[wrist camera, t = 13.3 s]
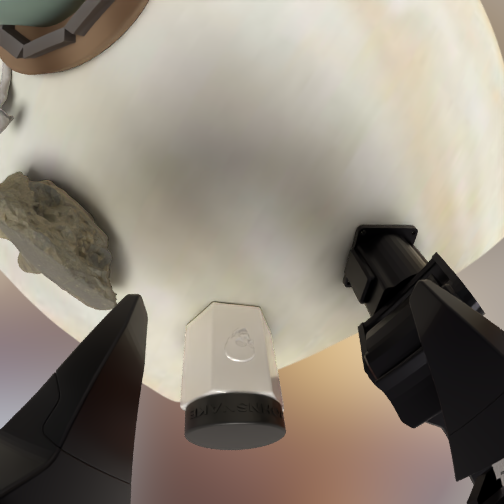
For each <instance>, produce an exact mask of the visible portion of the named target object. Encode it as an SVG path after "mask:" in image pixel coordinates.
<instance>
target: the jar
mask: <svg viewBox="0 0 504 504" xmlns="http://www.w3.org/2000/svg"><path fill="white" fill-rule="evenodd" d="M180 407H181V408H182V409H183V410H184V411H185V437H186V439H187V440H188V441H189V442H191V443H193V444H195V445H198V446H201V447H206V448H211V449H220V450H241V449H251V448H257V447H262V446H266V445H269V444H272V443H274V442H276V441H278V440H280V439H281V438H282V437H284V435H285V433H286V430H285V423H284V417H283V411H284V405H283V399H282V393H281V387H280V381H279V376H278V370H277V364H276V358H275V352H274V346H273V340H272V334H271V332H270V329H269V327H268V325H267V322H266V320H265V318H264V315H263V313H262V311H261V308H260V307H254V306H244V305H235V304H226V303H217V302H213V303H211V304H210V305H209V306H208V307H207V308H206V309H205V310H204V311H203V312H201V313H200V314H199V315H198V316H197V317H196V318H195V319H193V320H192V321H191V322H190V323H189V324H188V325H187V326H186V334H185V345H184V357H183V370H182V384H181V401H180Z"/></svg>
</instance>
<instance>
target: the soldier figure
mask: <svg viewBox="0 0 504 504" xmlns="http://www.w3.org/2000/svg"><path fill="white" fill-rule="evenodd" d="M10 81H11V68H9V67H8V66H7V65H6V64H5V63H3V69H2V82H1V85H0V133H1V132H3V131H4V130H5V128H6V127H7V126H8V125H9V123H10V122H11V121H12V120H13V119H14V116H10V115H8V114H7V113H6V112H5V111H4V110H2V109H1V106H2V105H3V103H4V102H5V100H6V99H7V94H8V89H9V85H10Z"/></svg>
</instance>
